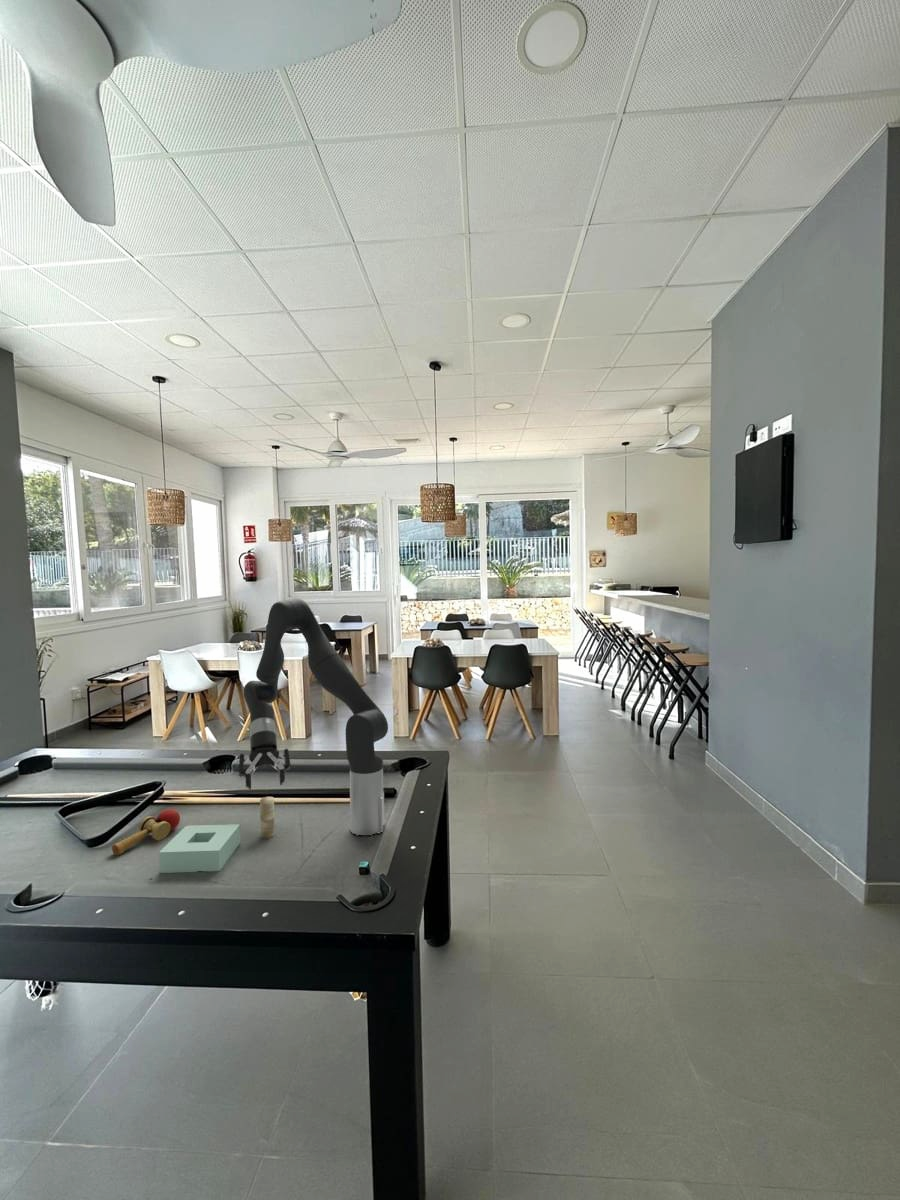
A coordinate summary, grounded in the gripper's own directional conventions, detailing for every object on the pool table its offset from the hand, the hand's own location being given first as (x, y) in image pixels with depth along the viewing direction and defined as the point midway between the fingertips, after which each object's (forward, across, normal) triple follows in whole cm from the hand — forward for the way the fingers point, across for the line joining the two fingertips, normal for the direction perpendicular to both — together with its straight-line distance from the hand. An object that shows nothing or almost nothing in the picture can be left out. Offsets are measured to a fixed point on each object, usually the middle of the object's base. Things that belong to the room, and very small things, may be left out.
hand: (265, 785), depth 149 cm
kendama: (+6, -30, +10) cm, 32 cm away
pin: (+13, 0, +3) cm, 13 cm away
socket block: (+17, -16, -1) cm, 24 cm away
